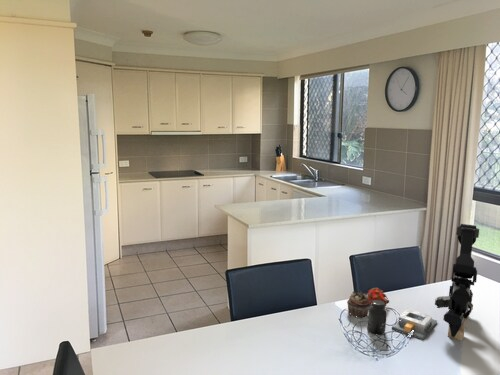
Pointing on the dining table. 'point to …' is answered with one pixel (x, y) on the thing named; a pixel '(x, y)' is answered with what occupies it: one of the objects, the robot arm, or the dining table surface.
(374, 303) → the supplement bottle
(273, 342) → the dining table surface
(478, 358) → the dining table surface
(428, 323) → the grey slotted plate
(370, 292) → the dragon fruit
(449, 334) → the oak wedge
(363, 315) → the cupcake
